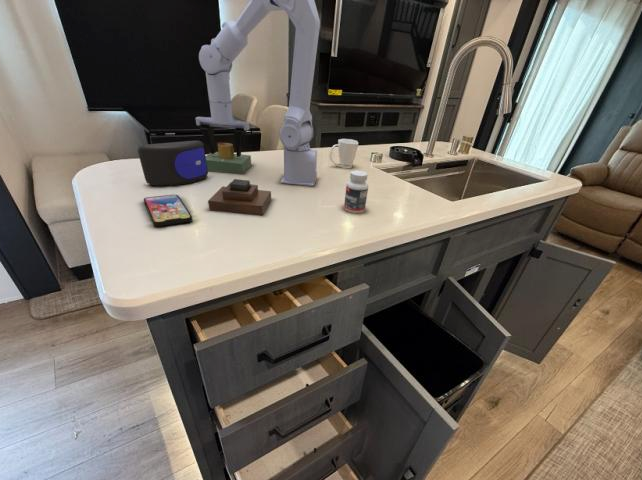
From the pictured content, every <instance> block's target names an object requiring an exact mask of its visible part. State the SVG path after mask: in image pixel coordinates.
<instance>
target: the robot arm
mask: <svg viewBox="0 0 642 480" xmlns="http://www.w3.org/2000/svg"><path fill="white" fill-rule="evenodd" d="M317 8H318V7H317V5H316V0H249V1H248V3H247V5H246V6H245V7H244V8H243V10H242V12H241V13H240V15H239V16H238V17H237V19H236V20H235V21H234V20H228V21H223V23H222V24H221V28H222V29H220V31H219V32H218V34H217V35H216V37H214V38H212V39H211V40H210V44H204V45H202V46H201V48H200V50H199V52H198V61H199V65H200V67H201V69H202V70H204V72H205V78H206V85H207V87H206V88H207V94H208V102H209V109H210V116H209V117H208V116H207V117H206V116H197V117H195V124H196V126H199V132H200V133H201V134H202V136H203V138H204V139H205V141H206V144H207V146H208V148H209V151H210V153H211V154H214V153H216V152H217V150H216V143H215V128H222V129H223V128H224V129H231V130H232V129H233V137H234V141H235V142H234V143H235V151H236V152H235V154H237V157H240V156H241V154H242V150H243V145H244V144H243V143H244V140H245V137H246V134H247V132H248V131H249V130H250V122H249V121H244V120H237V119H234V118H233V117H234V116H233V107H232V97H231V95H232V94H231V86H230V79H231V78H230V73H231V71H232V69H233V63H234V61H235V60H236V59H237V58H238V56H239V55H240V54H241V53H242V52H243V51H244V49H245V48H246V47H247V46H248V43H249V41H248V37H249V34H251V32H252V31H253V30H254V29H255V28H256V27H257V26H258V25H259V24H260V23H261V22H262V21H263V20H264V18H266V17H267V15H268V14H270V13H271V12H274V11H275V12H276V11H284V12H285V13H286V14H287V16H288V18H289V20H290V21H291V23H292V24H293V26H294V27H295V32H294V33H295V35H294V45H293V56H292V68H291V78H290V88H289V89H290V92H289V100H288V101H289V102H288V108H287V110H286V112H285V114H284V117H283V123H282V125H281V126H280V129H279V133H278V134H279V141H280V143H281V144H282V145H283V176H282V178H281V180H280V183H281V184H287V185H288V184H289V185H297V186H298V185H299V186H309V187H314V186H315V185H316V181H317V178H318V170H317V169H318V167H317V165H318V150H317V149H311V147H310V146H311V145H310V142H311V141H312V140H313V138H314V128H313V115H312V113H311V110H310V109H311V101H312V94H313V93H312V92H313V86H314V85H313V84H314V78H315V77H314V75H315V67H316V59H317V51H318V43H319V36H320V29H321V19H320V17H319V12H318V9H317ZM234 129H235V130H234Z"/></svg>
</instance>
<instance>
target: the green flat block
mask: <svg viewBox="0 0 642 480" xmlns="http://www.w3.org/2000/svg"><path fill="white" fill-rule="evenodd" d="M205 156H206V163H207V169H208V172H218V173H228V174H237V175H244V174H245V173H246V172H247V170H249V168H250V167H252V157H251V155H250V154H242V153H241V156H240V157H237V154H236V153H234V158H232V159H222V158H219V153H218V151H216V153H214V154H211V152H209V153H208V154H206V155H205Z"/></svg>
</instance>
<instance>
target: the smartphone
mask: <svg viewBox="0 0 642 480" xmlns="http://www.w3.org/2000/svg"><path fill="white" fill-rule="evenodd" d="M143 203H144V205H145V208H146V210H147V212H148V214H149V217H150V220H151V221H152V224H153V225H154V226H156V227H162V226H170V225H176V224H183V223H190V222H192V221H193V216H192V214H191V212H190V211H189V210H188V208H187V207H186V205H185V203H184V202H183V200H182V199H181V197H180V195H178V194H165V195H164V194H163V195H155V196H147V197H144V198H143Z"/></svg>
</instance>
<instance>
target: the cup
mask: <svg viewBox="0 0 642 480" xmlns="http://www.w3.org/2000/svg"><path fill="white" fill-rule="evenodd" d="M358 146H359V142H358V140H355V139H352V138H340V139H338V140H337V144H334V145H332V147H331V148H330V151H329V159H330V161H331V162H332V163H333V164H334V165H335V166H336V167H338V168H343V169H351V168H353V164H354V161H355V158H356V155H357V150H358ZM336 147H337V148H338V158H339V159H338V160H339V164H337V163H336V162H334V160H333V158H332V155H333V151H334V149H335V148H336Z"/></svg>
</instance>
